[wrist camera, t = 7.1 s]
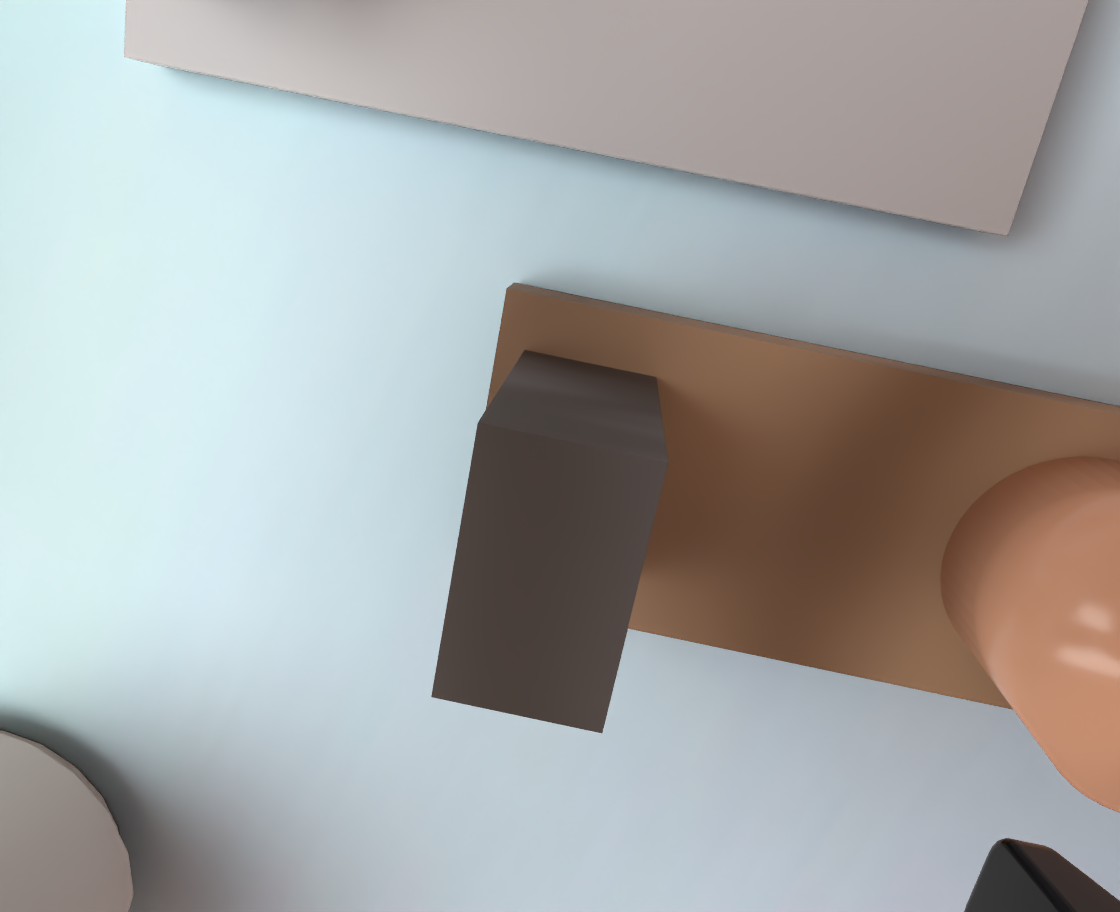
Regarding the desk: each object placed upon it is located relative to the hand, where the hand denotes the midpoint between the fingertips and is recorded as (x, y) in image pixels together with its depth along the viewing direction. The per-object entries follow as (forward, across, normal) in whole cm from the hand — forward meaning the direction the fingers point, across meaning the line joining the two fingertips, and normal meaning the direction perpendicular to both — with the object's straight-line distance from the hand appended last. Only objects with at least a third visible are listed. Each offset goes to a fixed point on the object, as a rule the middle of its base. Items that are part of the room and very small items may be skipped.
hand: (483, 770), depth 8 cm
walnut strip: (+10, -6, 0) cm, 12 cm away
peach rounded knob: (+9, -10, 0) cm, 13 cm away
